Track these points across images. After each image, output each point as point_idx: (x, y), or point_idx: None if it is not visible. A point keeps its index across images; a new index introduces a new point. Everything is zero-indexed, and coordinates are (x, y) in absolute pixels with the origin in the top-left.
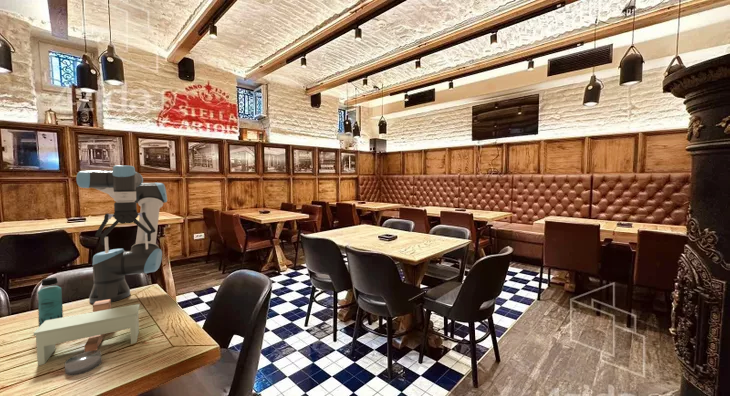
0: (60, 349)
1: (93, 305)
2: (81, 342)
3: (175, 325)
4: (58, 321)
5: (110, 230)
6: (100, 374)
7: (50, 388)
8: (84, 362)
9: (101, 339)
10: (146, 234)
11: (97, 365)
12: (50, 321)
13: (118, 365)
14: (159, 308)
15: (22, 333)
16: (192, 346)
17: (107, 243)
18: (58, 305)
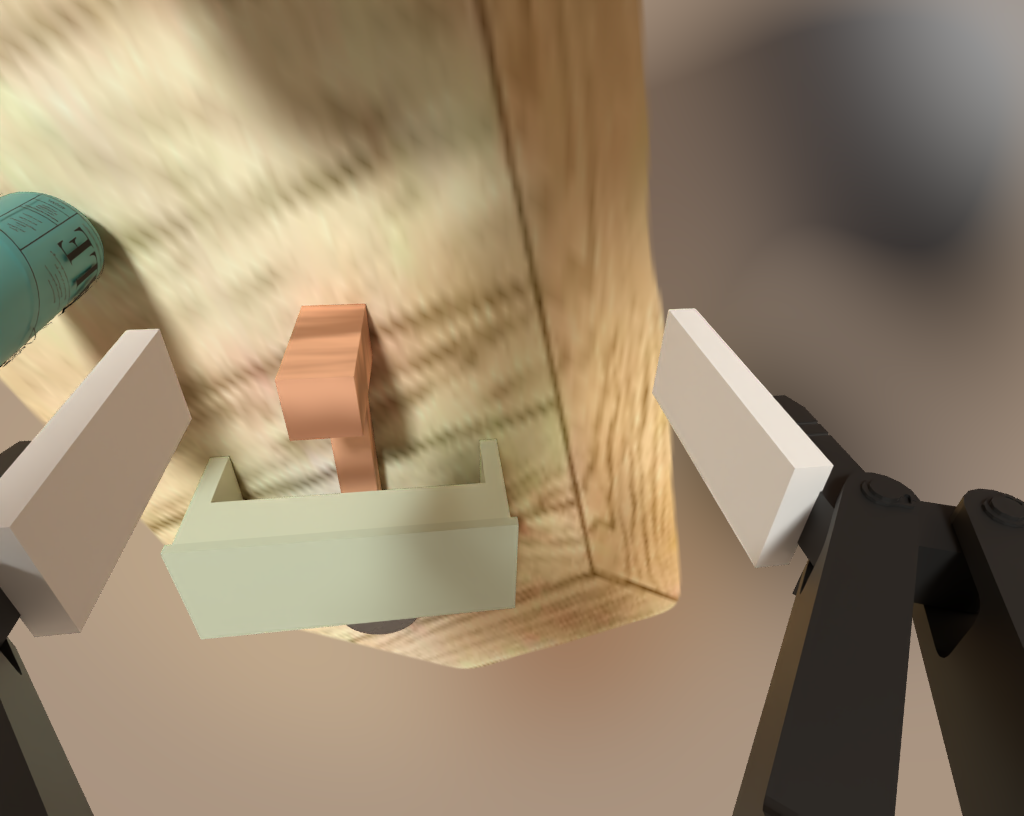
0: (251, 466)
1: (293, 439)
2: (304, 443)
3: (619, 451)
4: (232, 580)
5: (77, 798)
6: (433, 625)
7: (340, 637)
8: (392, 630)
9: (377, 465)
10: (782, 549)
11: None
12: (194, 571)
13: None
14: (580, 199)
15: None
16: (636, 591)
17: (120, 495)
18: (40, 325)
